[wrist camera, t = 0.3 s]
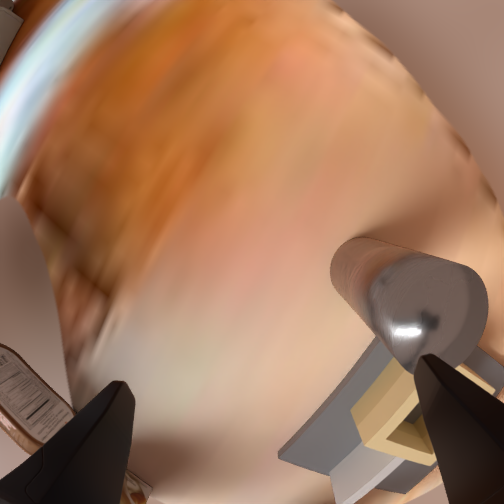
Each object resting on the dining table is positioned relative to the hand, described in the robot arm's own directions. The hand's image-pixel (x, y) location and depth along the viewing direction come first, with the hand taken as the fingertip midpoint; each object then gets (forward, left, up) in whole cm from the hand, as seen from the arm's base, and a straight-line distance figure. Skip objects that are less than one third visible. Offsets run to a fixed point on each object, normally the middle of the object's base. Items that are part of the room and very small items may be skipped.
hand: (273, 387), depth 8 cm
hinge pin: (+4, -6, -15) cm, 17 cm away
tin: (-24, +14, -16) cm, 32 cm away
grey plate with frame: (-5, -20, -15) cm, 25 cm away
